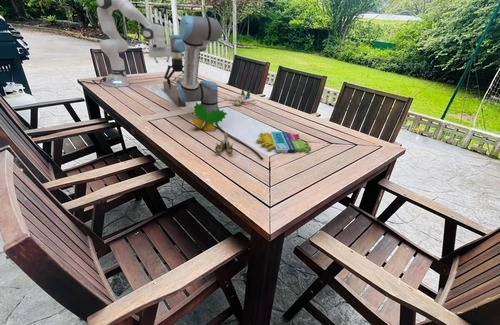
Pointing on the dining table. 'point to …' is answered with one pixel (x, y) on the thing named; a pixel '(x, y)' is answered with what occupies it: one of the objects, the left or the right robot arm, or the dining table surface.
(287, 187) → the dining table surface
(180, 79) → the airplane
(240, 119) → the dining table surface
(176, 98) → the post
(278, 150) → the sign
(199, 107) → the ornament
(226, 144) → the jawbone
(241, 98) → the toy
